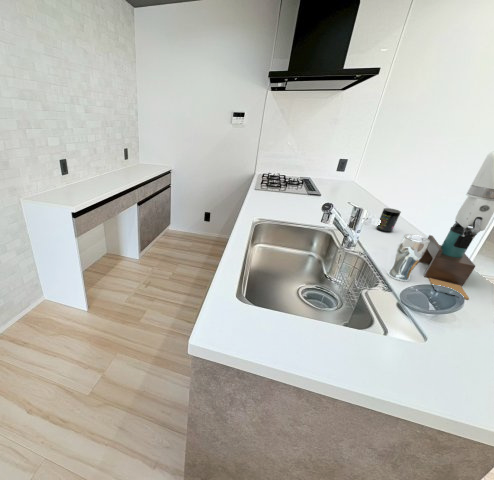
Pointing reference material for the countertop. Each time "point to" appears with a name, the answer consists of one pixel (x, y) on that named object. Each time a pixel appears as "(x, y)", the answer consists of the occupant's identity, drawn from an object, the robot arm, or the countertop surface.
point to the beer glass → (408, 256)
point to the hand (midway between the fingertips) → (456, 242)
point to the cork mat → (450, 285)
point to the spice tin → (450, 241)
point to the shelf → (446, 265)
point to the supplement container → (388, 219)
